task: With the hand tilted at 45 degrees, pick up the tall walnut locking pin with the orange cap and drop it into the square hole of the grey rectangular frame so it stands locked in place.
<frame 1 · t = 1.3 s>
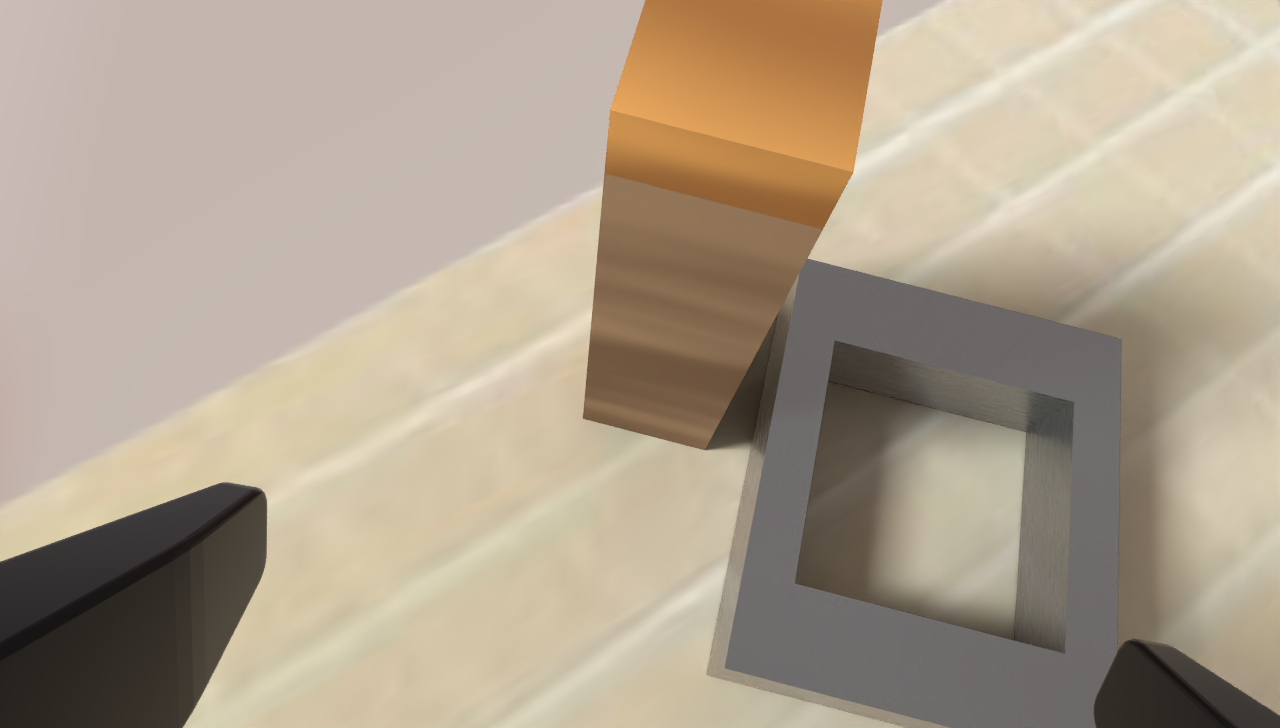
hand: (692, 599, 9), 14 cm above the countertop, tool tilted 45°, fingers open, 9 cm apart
walnut locking pin: (658, 377, 25), on the countertop
grey rectangular frame: (905, 510, 24), on the countertop
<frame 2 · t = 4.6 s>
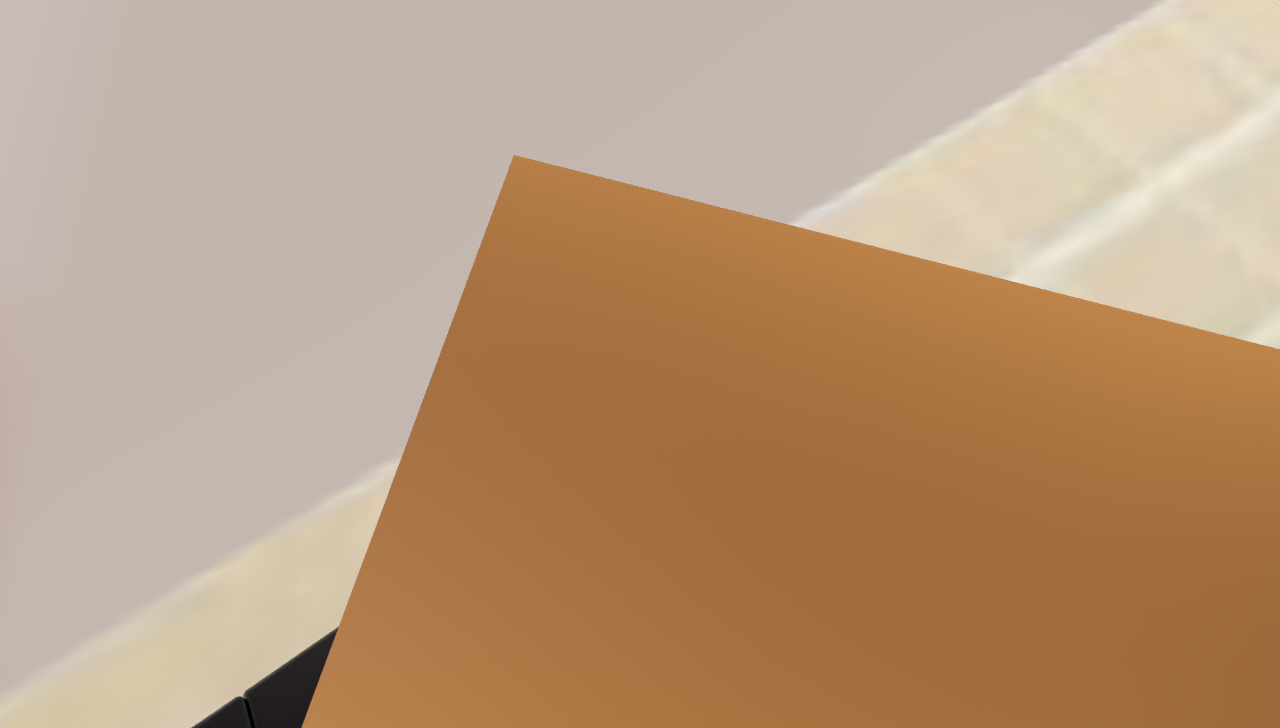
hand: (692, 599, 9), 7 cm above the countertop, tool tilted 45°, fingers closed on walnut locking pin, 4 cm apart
when the fingers open (8 cm above the countertop, at t = 8.0 s): walnut locking pin drops 1 cm, resting in grey rectangular frame.
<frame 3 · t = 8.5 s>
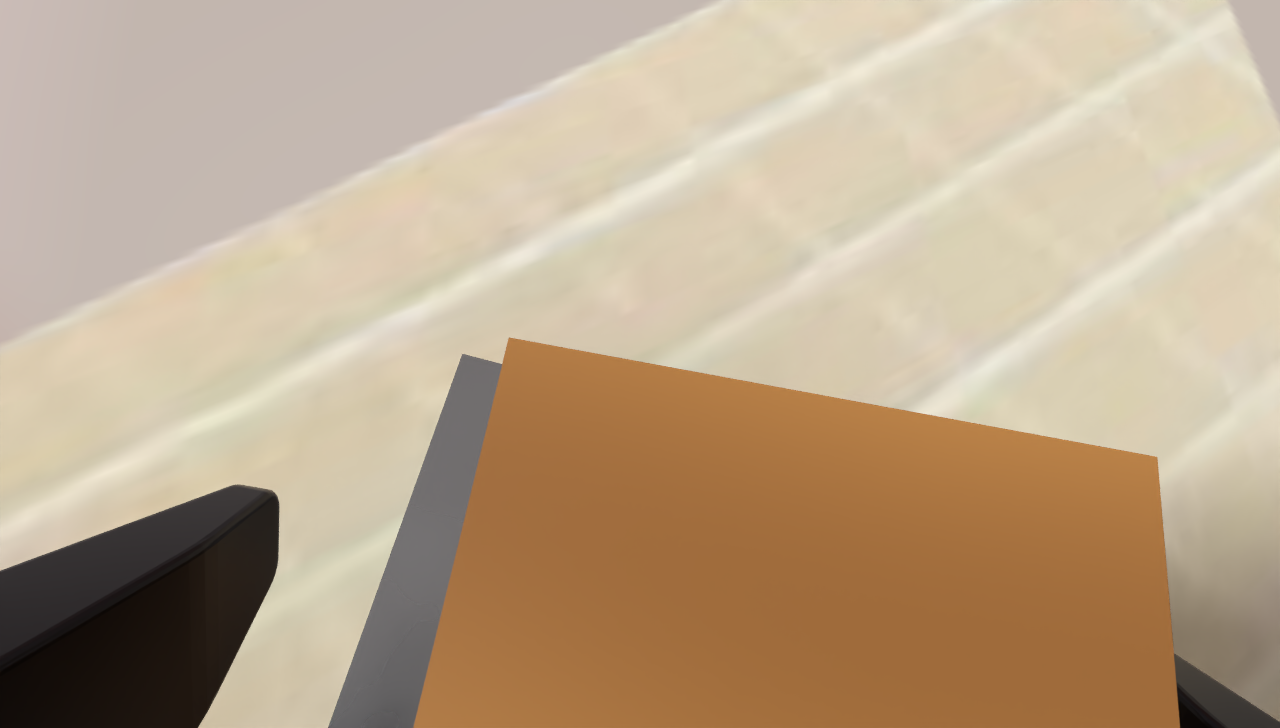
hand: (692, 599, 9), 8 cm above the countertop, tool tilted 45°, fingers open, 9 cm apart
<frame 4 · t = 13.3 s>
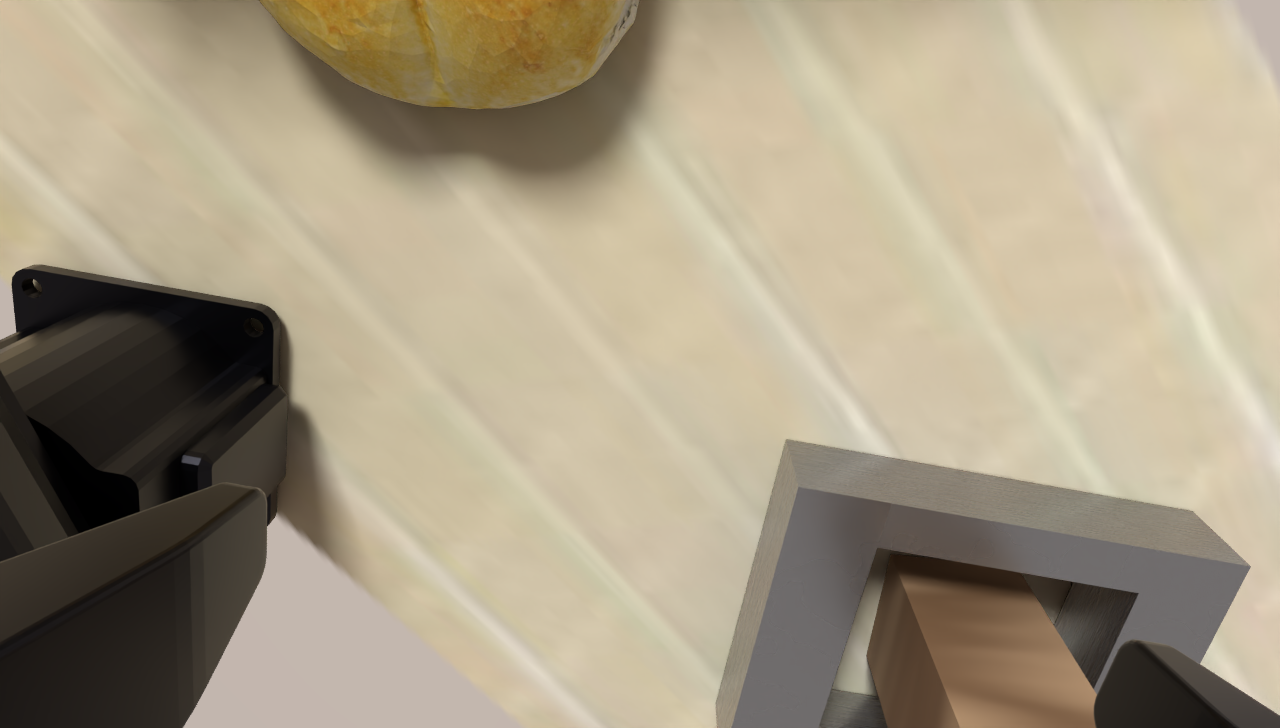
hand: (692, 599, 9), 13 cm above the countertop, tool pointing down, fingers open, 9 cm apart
walnut locking pin: (939, 612, 24), resting in grey rectangular frame
grey rectangular frame: (939, 613, 24), on the countertop
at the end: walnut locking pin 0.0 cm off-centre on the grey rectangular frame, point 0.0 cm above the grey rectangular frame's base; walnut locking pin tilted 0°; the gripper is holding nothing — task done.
